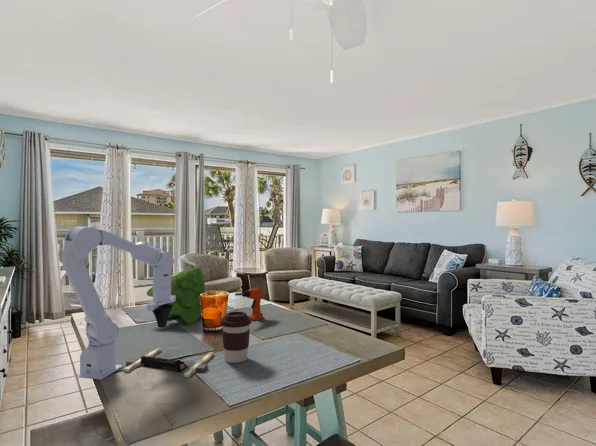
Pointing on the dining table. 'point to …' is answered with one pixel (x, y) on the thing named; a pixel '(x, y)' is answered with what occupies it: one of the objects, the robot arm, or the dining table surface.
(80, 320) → the dining table surface
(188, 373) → the joist track
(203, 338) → the dining table surface
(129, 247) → the robot arm
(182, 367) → the black flashlight
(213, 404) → the dining table surface
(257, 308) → the toy drill
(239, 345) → the coffee cup
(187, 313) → the decorative tree
